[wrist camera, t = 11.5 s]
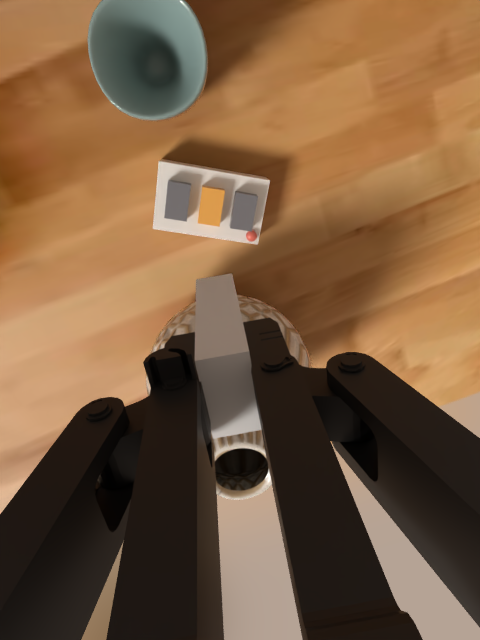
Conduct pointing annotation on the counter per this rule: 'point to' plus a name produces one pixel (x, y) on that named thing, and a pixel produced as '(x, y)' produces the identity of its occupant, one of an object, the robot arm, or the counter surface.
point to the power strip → (209, 202)
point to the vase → (247, 448)
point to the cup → (148, 56)
